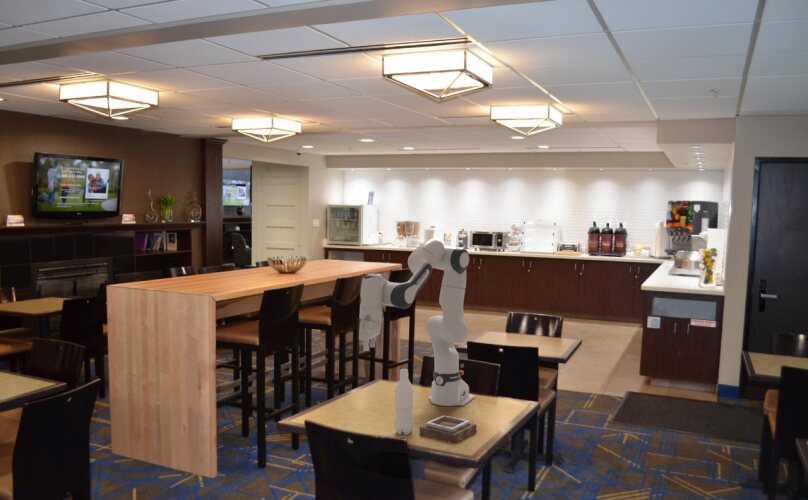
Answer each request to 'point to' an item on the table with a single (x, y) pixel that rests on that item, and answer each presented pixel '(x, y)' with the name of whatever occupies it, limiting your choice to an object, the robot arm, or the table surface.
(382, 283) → the robot arm
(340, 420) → the table surface
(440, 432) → the display stand
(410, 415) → the water bottle
